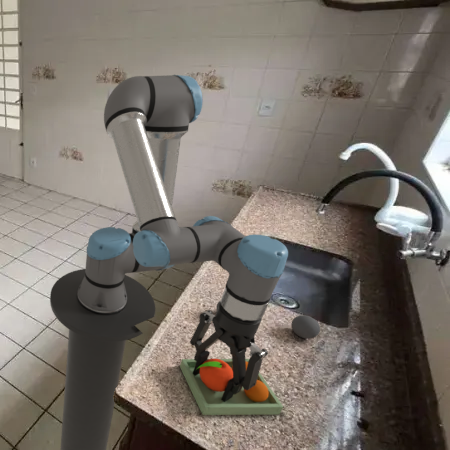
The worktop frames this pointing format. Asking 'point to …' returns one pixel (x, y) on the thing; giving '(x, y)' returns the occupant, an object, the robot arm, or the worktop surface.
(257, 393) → the orange ball
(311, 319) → the grey ball
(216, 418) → the worktop surface
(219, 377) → the clementine
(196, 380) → the tray
